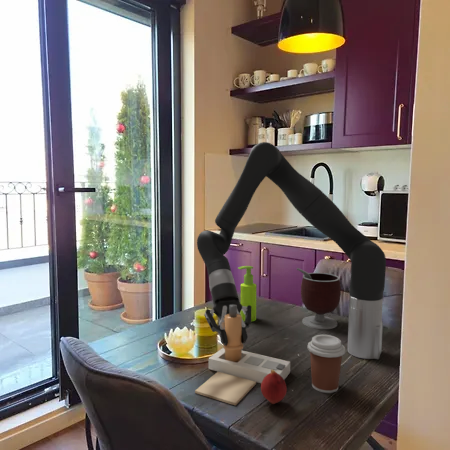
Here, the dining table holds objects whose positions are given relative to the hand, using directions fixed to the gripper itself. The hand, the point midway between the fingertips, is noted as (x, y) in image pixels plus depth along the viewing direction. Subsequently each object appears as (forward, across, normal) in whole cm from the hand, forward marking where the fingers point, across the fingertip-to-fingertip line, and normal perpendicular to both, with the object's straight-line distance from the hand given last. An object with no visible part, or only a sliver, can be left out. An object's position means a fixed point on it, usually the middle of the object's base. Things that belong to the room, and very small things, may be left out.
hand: (235, 343), depth 105 cm
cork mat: (+11, -5, -1) cm, 13 cm away
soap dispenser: (-20, +16, +31) cm, 41 cm away
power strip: (+6, +3, +4) cm, 8 cm away
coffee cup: (+16, +19, -5) cm, 25 cm away
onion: (+18, +4, -7) cm, 20 cm away
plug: (+2, 0, +5) cm, 6 cm away
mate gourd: (-13, +39, +24) cm, 48 cm away
